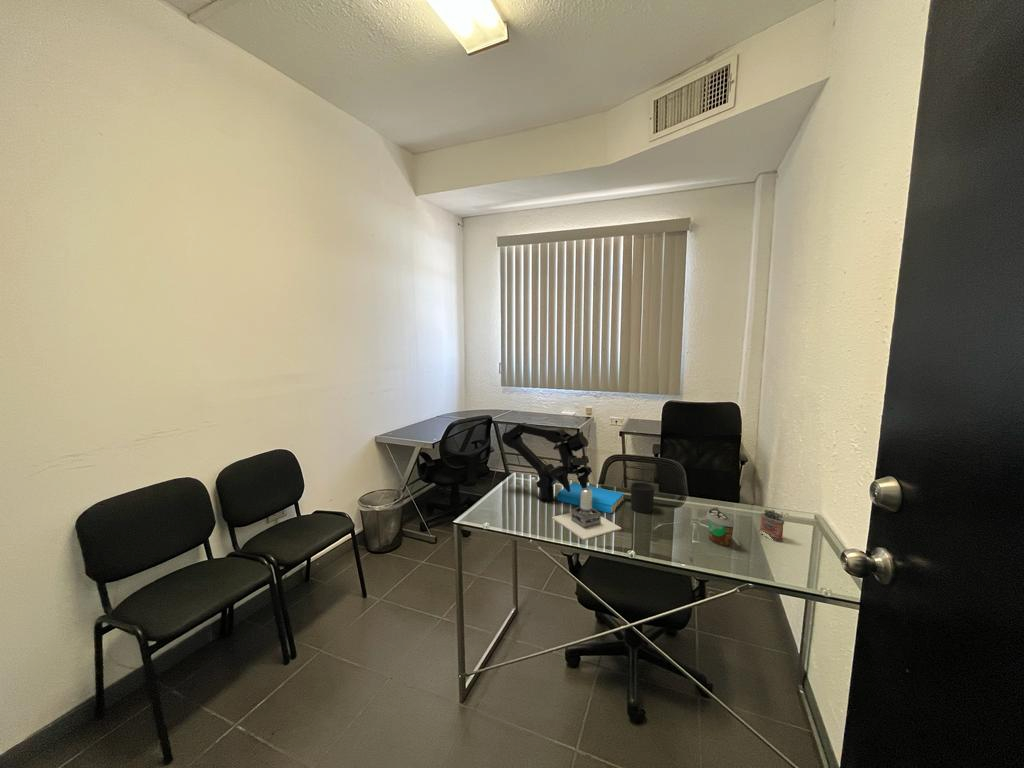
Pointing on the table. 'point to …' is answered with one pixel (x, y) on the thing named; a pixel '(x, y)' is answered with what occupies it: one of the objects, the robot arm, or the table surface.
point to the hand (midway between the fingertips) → (577, 491)
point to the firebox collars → (585, 518)
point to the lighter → (772, 524)
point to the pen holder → (642, 497)
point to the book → (600, 497)
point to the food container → (719, 527)
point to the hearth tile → (587, 532)
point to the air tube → (586, 502)
